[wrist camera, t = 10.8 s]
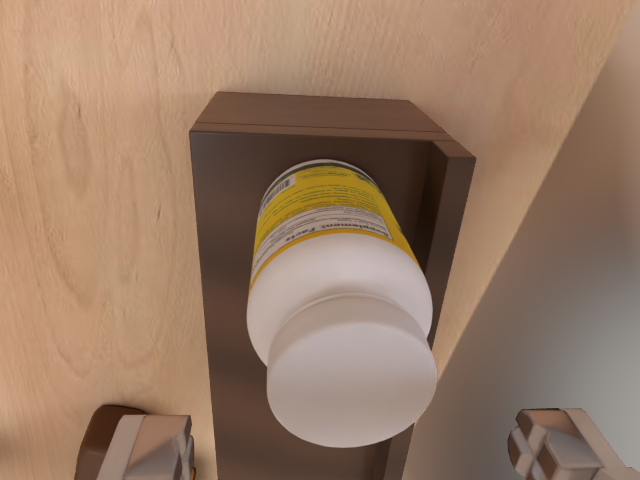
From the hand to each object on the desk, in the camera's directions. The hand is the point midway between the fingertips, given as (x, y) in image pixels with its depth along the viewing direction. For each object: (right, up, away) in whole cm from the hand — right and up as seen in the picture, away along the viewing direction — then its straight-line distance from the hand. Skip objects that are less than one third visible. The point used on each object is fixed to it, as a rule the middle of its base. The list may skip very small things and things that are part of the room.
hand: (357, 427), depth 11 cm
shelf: (-2, +1, +23) cm, 23 cm away
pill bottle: (-1, +6, +11) cm, 12 cm away
